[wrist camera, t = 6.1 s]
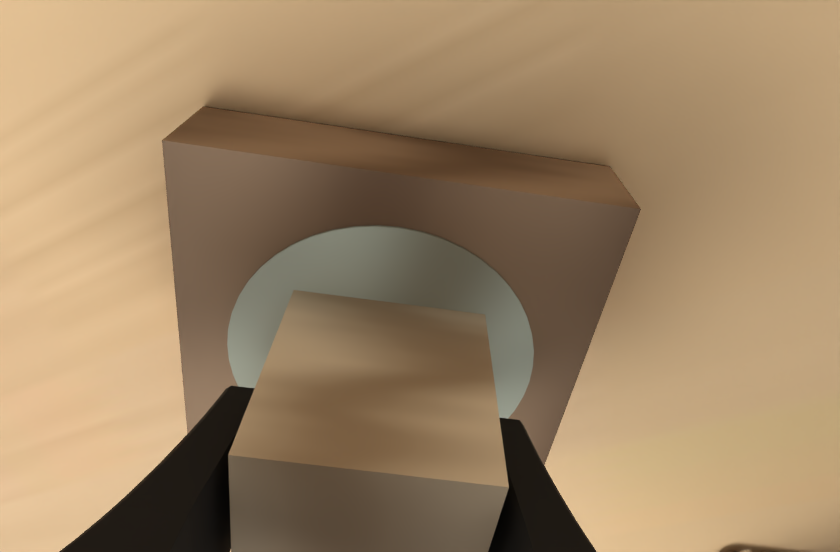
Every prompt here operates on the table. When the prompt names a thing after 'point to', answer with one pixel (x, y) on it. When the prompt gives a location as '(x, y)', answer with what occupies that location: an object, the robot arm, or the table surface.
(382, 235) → the plinth
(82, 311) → the table surface
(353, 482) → the block
